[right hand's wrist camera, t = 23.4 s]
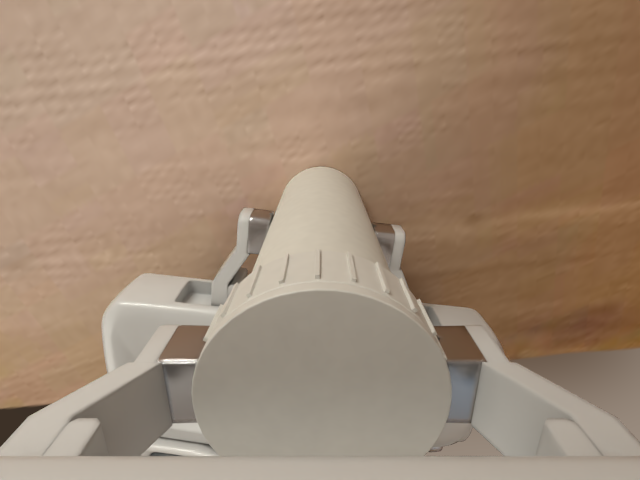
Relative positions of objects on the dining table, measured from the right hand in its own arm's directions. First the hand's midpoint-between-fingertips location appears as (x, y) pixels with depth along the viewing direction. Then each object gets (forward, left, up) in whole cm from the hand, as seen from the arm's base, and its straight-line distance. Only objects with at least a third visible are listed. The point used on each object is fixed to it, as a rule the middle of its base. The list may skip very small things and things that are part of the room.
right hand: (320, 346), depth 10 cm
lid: (0, 0, +2) cm, 2 cm away
